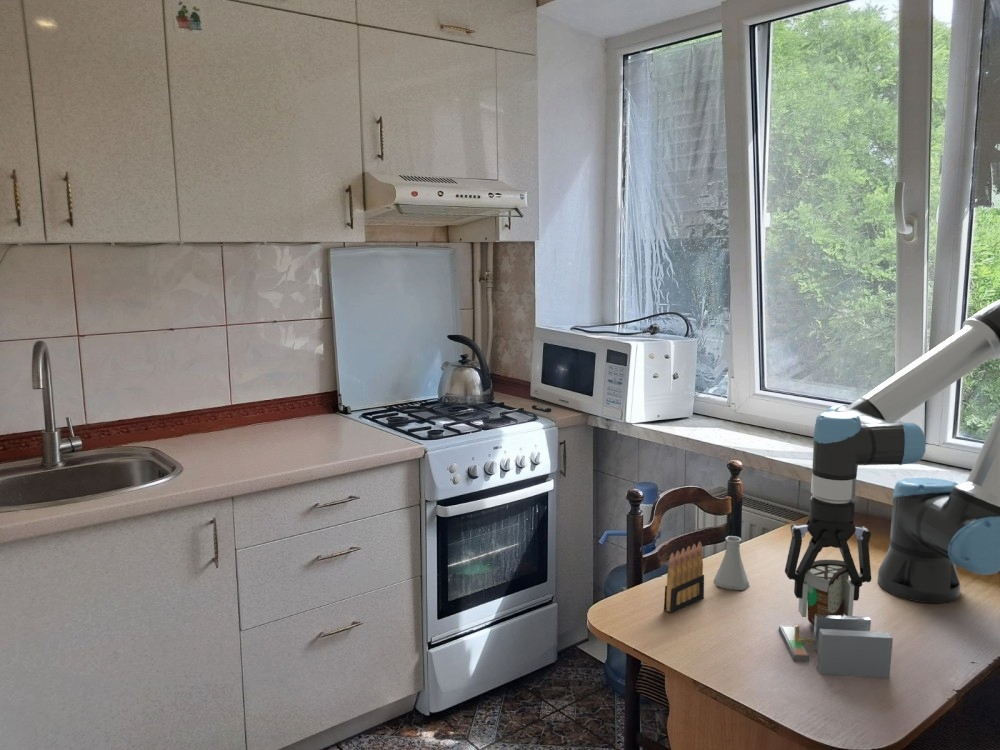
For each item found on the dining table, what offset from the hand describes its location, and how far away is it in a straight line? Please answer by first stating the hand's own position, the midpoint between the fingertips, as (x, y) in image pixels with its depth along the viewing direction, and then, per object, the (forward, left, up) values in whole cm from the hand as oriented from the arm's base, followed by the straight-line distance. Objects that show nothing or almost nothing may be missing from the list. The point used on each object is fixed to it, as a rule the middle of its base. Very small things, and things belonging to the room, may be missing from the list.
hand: (824, 614), depth 149 cm
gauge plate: (+2, +10, -2) cm, 10 cm away
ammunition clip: (+25, -6, -2) cm, 26 cm away
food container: (+1, 0, -1) cm, 1 cm away
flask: (+14, -17, -2) cm, 22 cm away
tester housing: (+2, +11, -2) cm, 11 cm away
